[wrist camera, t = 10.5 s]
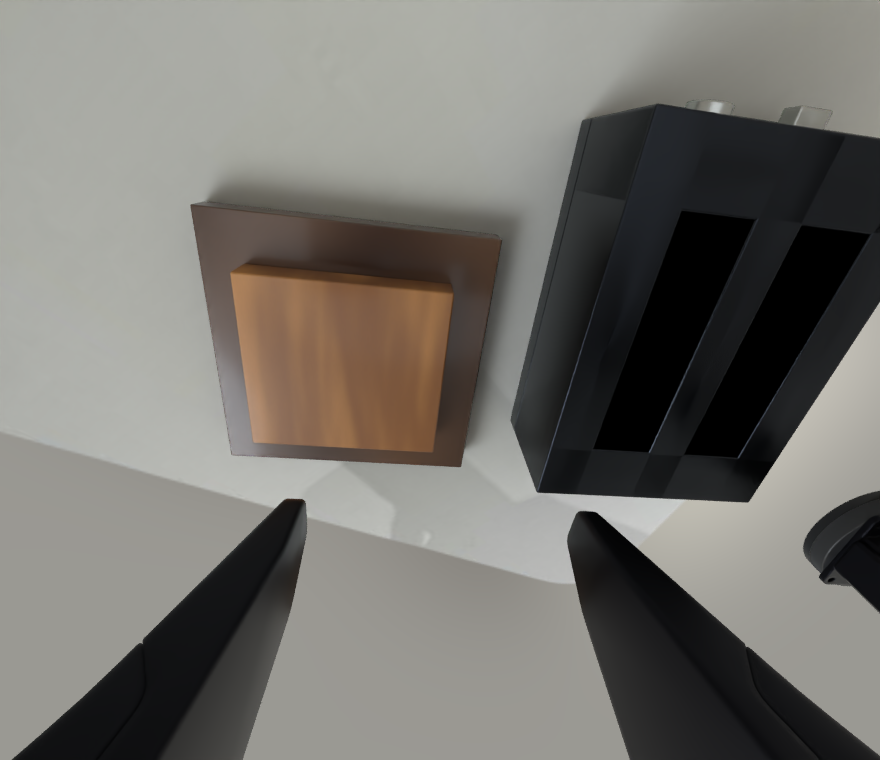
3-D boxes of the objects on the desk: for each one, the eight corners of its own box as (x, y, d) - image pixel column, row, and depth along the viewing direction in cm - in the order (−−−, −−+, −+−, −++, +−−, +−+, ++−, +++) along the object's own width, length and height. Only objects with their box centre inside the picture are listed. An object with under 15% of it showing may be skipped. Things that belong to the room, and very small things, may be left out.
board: (497, 234, 17) (502, 239, 16) (458, 453, 23) (461, 467, 22) (204, 201, 16) (189, 204, 15) (240, 441, 22) (231, 455, 21)
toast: (455, 293, 16) (228, 271, 15) (433, 453, 20) (252, 443, 19) (452, 283, 17) (242, 263, 16) (432, 435, 21) (262, 425, 20)
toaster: (828, 125, 16) (1005, 112, 11) (679, 431, 23) (748, 503, 18) (589, 88, 15) (671, 55, 10) (510, 420, 22) (536, 493, 17)
